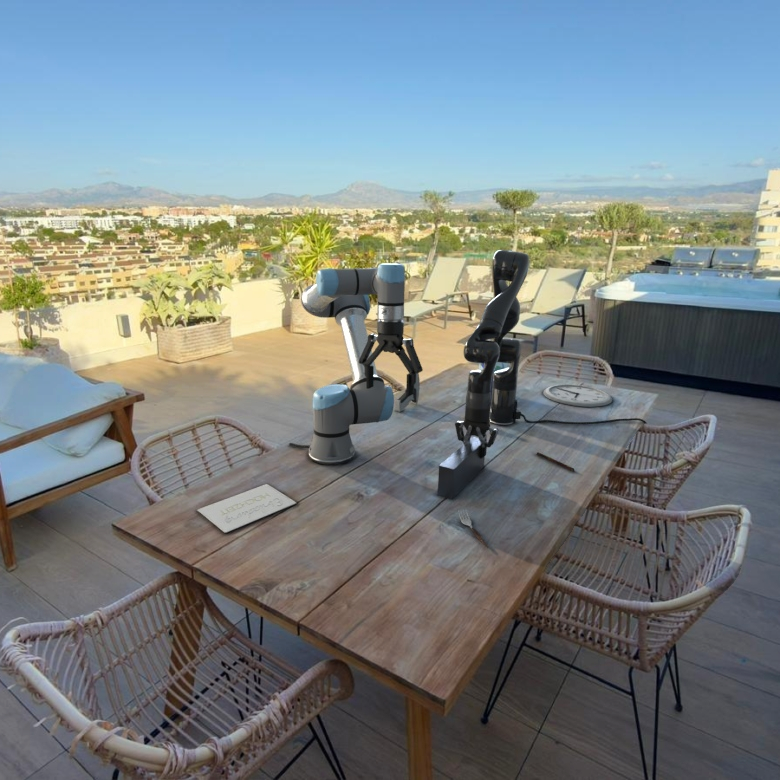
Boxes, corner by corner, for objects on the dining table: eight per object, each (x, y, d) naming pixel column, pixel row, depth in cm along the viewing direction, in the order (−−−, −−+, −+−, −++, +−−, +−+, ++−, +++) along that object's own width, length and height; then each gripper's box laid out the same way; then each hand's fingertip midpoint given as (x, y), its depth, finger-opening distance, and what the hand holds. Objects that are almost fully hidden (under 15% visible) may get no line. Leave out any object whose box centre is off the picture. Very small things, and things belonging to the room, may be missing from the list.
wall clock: (625, 402, 226) (558, 403, 224) (625, 406, 227) (558, 407, 224) (594, 383, 255) (534, 383, 252) (593, 386, 255) (534, 386, 253)
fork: (482, 550, 123) (483, 543, 123) (456, 516, 138) (457, 509, 138) (492, 549, 124) (493, 542, 124) (465, 515, 139) (466, 508, 138)
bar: (470, 463, 170) (472, 436, 167) (484, 466, 167) (486, 439, 165) (437, 495, 149) (438, 465, 146) (452, 499, 147) (453, 469, 144)
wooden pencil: (536, 454, 177) (536, 452, 176) (537, 454, 177) (537, 451, 177) (573, 471, 165) (573, 468, 164) (574, 471, 165) (574, 468, 165)
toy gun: (393, 376, 211) (414, 366, 222) (394, 412, 217) (415, 401, 228) (398, 377, 210) (419, 367, 221) (399, 414, 216) (419, 402, 227)
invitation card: (266, 483, 153) (296, 502, 143) (266, 484, 153) (296, 503, 143) (197, 509, 139) (225, 532, 129) (197, 510, 139) (225, 533, 129)
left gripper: (346, 317, 151) (347, 387, 157) (423, 326, 139) (421, 402, 145) (361, 313, 157) (361, 381, 163) (436, 322, 145) (432, 395, 151)
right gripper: (451, 403, 160) (448, 454, 165) (496, 412, 153) (491, 465, 158) (461, 397, 166) (458, 446, 171) (504, 405, 159) (500, 456, 164)
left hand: (389, 391), depth 154 cm, fingers open, 13 cm apart
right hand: (474, 455), depth 164 cm, fingers closed on bar, 4 cm apart
